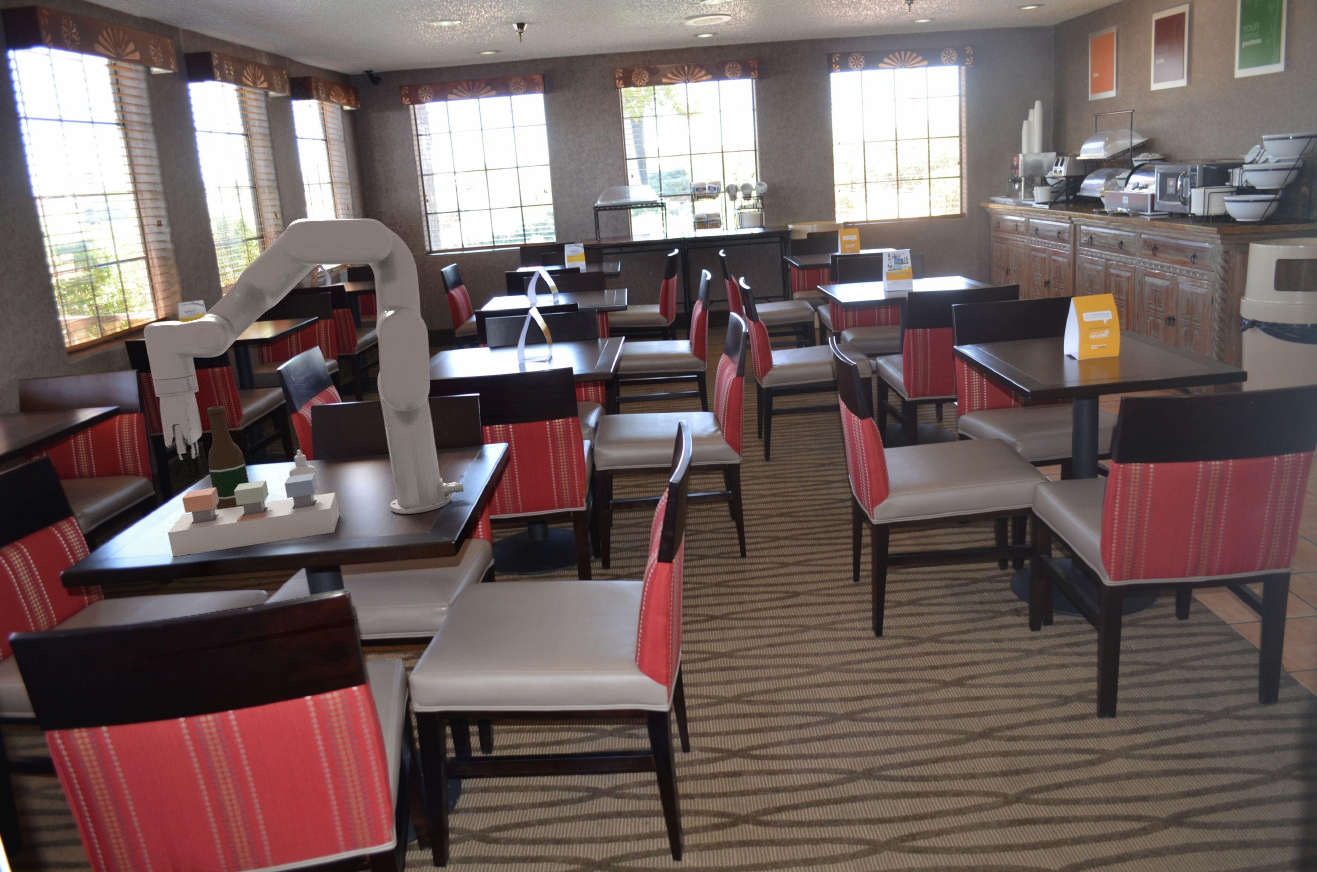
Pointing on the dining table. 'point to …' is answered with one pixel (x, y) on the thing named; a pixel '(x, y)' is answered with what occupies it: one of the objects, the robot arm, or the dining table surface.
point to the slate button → (301, 490)
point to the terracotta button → (201, 504)
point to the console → (254, 526)
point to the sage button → (252, 497)
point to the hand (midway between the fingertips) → (193, 477)
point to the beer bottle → (224, 460)
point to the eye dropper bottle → (304, 469)
